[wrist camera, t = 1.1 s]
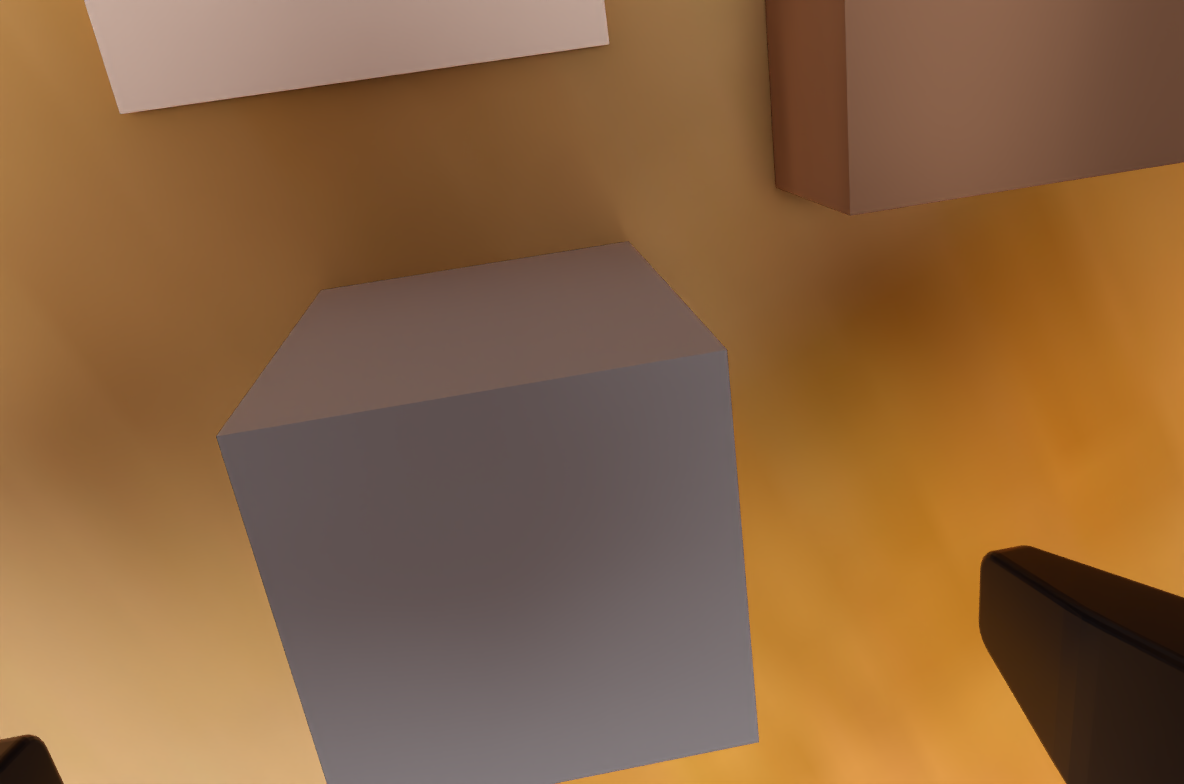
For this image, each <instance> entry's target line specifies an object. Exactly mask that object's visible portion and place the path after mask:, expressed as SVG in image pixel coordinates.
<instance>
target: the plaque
mask: <svg viewBox="0 0 1184 784" xmlns="http://www.w3.org/2000/svg"><path fill="white" fill-rule="evenodd" d="M84 2H85V5H86V8H87V11H88V15H89V18H90V21H91V24H92V27H93V30H94V34H95V37H96V40H97V43H98V46H99V49H100V52H101V56H102V59H103V62H104V65H105V68H106V71H107V75H108V78H109V81H110V84H111V87H112V90H113V94H114V97H115V100H116V103H117V106H118V109H119V112H120V114H125V113H133V112H140V111H147V110H154V109H161V108H168V107H175V106H182V105H189V104H196V103H203V102H210V101H217V100H224V99H231V98H238V97H245V96H252V95H259V94H266V93H273V92H280V91H287V90H294V89H301V88H308V87H315V86H322V85H329V84H336V83H343V82H350V81H357V80H364V79H371V78H378V77H385V76H392V75H399V74H406V73H413V72H420V71H427V70H434V69H441V68H448V67H455V66H462V65H469V64H476V63H483V62H490V61H497V60H504V59H511V58H518V57H525V56H532V55H539V54H546V53H553V52H560V51H567V50H574V49H581V48H587V47H594V46H601V45H607V44H609V37H608V28H607V20H606V11H605V3H604V0H84Z"/></svg>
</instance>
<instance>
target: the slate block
mask: <svg viewBox="0 0 1184 784" xmlns="http://www.w3.org/2000/svg"><path fill="white" fill-rule="evenodd" d="M216 438H217V441H218V444H219V447H220V450H221V453H222V457H223V460H224V463H225V466H226V469H227V472H228V475H229V478H230V482H231V485H232V488H233V491H234V494H235V497H236V500H237V503H238V507H239V510H240V513H241V516H242V519H243V522H244V525H245V529H246V532H247V535H248V538H249V541H250V544H251V547H252V550H253V554H254V557H255V560H256V563H257V566H258V569H259V572H260V575H261V579H262V582H263V585H264V588H265V591H266V594H267V597H268V601H269V604H270V607H271V610H272V613H273V616H274V619H275V622H276V626H277V629H278V632H279V635H280V638H281V641H282V644H283V647H284V651H285V654H286V657H287V660H288V663H289V666H290V669H291V673H292V676H293V679H294V682H295V685H296V688H297V691H298V694H299V698H300V701H301V704H302V707H303V710H304V713H305V716H306V719H307V723H308V726H309V729H310V732H311V735H312V738H313V741H314V745H315V748H316V751H317V754H318V757H319V760H320V763H321V766H322V770H323V773H324V776H325V779H326V782H327V784H555V783H560V782H564V781H569V780H574V779H579V778H584V777H589V776H594V775H599V774H604V773H609V772H614V771H619V770H624V769H629V768H633V767H638V766H643V765H648V764H653V763H658V762H663V761H668V760H673V759H678V758H683V757H688V756H693V755H698V754H703V753H707V752H712V751H717V750H722V749H727V748H732V747H737V746H742V745H747V744H752V743H757V742H759V736H758V724H757V711H756V699H755V687H754V675H753V662H752V650H751V638H750V625H749V613H748V601H747V589H746V576H745V564H744V552H743V540H742V527H741V515H740V503H739V490H738V478H737V466H736V454H735V441H734V429H733V417H732V404H731V392H730V380H729V368H728V355H727V349H726V348H725V347H724V346H723V345H722V344H721V343H720V341H719V340H718V339H717V338H716V337H715V336H714V335H713V334H712V333H711V331H710V330H709V329H708V328H707V327H706V326H705V325H704V324H703V323H702V322H701V320H700V319H699V318H698V317H697V316H696V315H695V314H694V313H693V312H692V311H691V309H690V308H689V307H688V306H687V305H686V304H685V303H684V302H683V301H682V300H681V298H680V297H679V296H678V295H677V294H676V293H675V292H674V291H673V290H672V289H671V287H670V286H669V285H668V284H667V283H666V282H665V281H664V280H663V279H662V277H661V276H660V275H659V274H658V273H657V272H656V271H655V270H654V269H653V268H652V266H651V265H650V264H649V263H648V262H647V261H646V260H645V259H644V258H643V257H642V255H641V254H640V253H639V252H638V251H637V250H636V249H635V248H634V247H633V246H632V244H631V243H630V242H629V241H626V242H620V243H614V244H607V245H601V246H595V247H589V248H582V249H576V250H570V251H563V252H557V253H551V254H545V255H538V256H532V257H526V258H520V259H513V260H507V261H501V262H494V263H488V264H482V265H476V266H469V267H463V268H457V269H451V270H444V271H438V272H432V273H425V274H419V275H413V276H407V277H400V278H394V279H388V280H381V281H375V282H369V283H363V284H356V285H350V286H344V287H338V288H331V289H325V290H321V291H320V292H319V294H318V295H317V296H316V298H315V299H314V301H313V302H312V303H311V305H310V306H309V308H308V309H307V310H306V312H305V313H304V315H303V316H302V317H301V319H300V320H299V321H298V323H297V324H296V326H295V327H294V328H293V330H292V331H291V333H290V334H289V335H288V337H287V338H286V340H285V341H284V342H283V344H282V345H281V347H280V348H279V349H278V351H277V352H276V354H275V355H274V356H273V358H272V359H271V361H270V362H269V363H268V365H267V366H266V368H265V369H264V370H263V372H262V373H261V374H260V376H259V377H258V379H257V380H256V381H255V383H254V384H253V386H252V387H251V388H250V390H249V391H248V393H247V394H246V395H245V397H244V398H243V400H242V401H241V402H240V404H239V405H238V407H237V408H236V409H235V411H234V412H233V414H232V415H231V416H230V418H229V419H228V421H227V422H226V423H225V425H224V426H223V427H222V429H221V430H220V432H219V433H218V434H217V436H216Z"/></svg>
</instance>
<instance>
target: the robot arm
mask: <svg viewBox="0 0 1184 784" xmlns="http://www.w3.org/2000/svg"><path fill="white" fill-rule="evenodd" d="M979 628H980V633H981V636H982V640H983V642H984V644H985V647H986V648H987V650H988V652H989V654H990V656H991V657H992V659H993V661H994V662H995V664H996V666H997V668H998V669H999V671H1000V673H1001V674H1002V676H1003V678H1004V679H1005V681H1006V683H1007V685H1008V686H1009V688H1010V690H1011V691H1012V693H1013V695H1014V697H1015V698H1016V700H1017V702H1018V703H1019V705H1020V707H1021V708H1022V710H1023V712H1024V714H1025V715H1026V717H1027V719H1028V720H1029V722H1030V724H1031V726H1032V727H1033V729H1034V731H1035V732H1036V734H1037V736H1038V738H1039V739H1040V741H1041V743H1042V744H1043V746H1044V748H1045V749H1046V751H1047V753H1048V755H1049V756H1050V758H1051V760H1052V761H1053V763H1054V765H1055V766H1056V768H1057V769H1058V771H1059V773H1060V774H1061V776H1062V777H1063V779H1064V781H1065V782H1066V784H1184V598H1183V597H1180V596H1177V595H1174V594H1172V593H1169V592H1166V591H1163V590H1160V589H1157V588H1154V587H1151V586H1148V585H1145V584H1142V583H1139V582H1136V581H1133V580H1130V579H1127V578H1124V577H1121V576H1118V575H1115V574H1112V573H1109V572H1106V571H1103V570H1100V569H1097V568H1094V567H1091V566H1088V565H1085V564H1082V563H1079V562H1076V561H1073V560H1070V559H1067V558H1064V557H1061V556H1058V555H1055V554H1052V553H1049V552H1046V551H1043V550H1040V549H1037V548H1034V547H1031V546H1016V547H1011V548H1006V549H1001V550H995V551H991V552H989V553H987V554H986V555H985V556H984V557H983V560H982V562H981V568H980V598H979ZM0 784H64V783H63V781H62V779H61V777H60V775H59V773H58V770H57V768H56V766H55V764H54V762H53V760H52V758H51V755H50V753H49V751H48V749H47V747H46V745H45V744H44V742H43V741H42V740H41V739H40V738H39V737H37V736H34V735H22V736H17V737H11V738H6V739H1V740H0Z"/></svg>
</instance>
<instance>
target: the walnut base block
mask: <svg viewBox="0 0 1184 784" xmlns="http://www.w3.org/2000/svg"><path fill="white" fill-rule="evenodd" d="M765 1H766V19H767V36H768V54H769V72H770V90H771V108H772V126H773V144H774V162H775V180H776V188H779V189H781V190H784V191H787V192H789V193H792V194H795V195H797V196H800V197H803V198H805V199H808V200H810V201H813V202H816V203H818V204H821V205H824V206H826V207H829V208H831V209H834V210H837V211H839V212H842V213H845V214H847V215H850V216H851V215H857V214H864V213H870V212H876V211H882V210H889V209H895V208H901V207H907V206H913V205H920V204H926V203H932V202H938V201H945V200H951V199H957V198H963V197H970V196H976V195H982V194H988V193H995V192H1001V191H1007V190H1013V189H1020V188H1026V187H1032V186H1038V185H1045V184H1051V183H1057V182H1063V181H1070V180H1076V179H1082V178H1088V177H1095V176H1101V175H1107V174H1113V173H1119V172H1126V171H1132V170H1138V169H1144V168H1151V167H1157V166H1163V165H1169V164H1176V163H1182V162H1184V0H765Z"/></svg>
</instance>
